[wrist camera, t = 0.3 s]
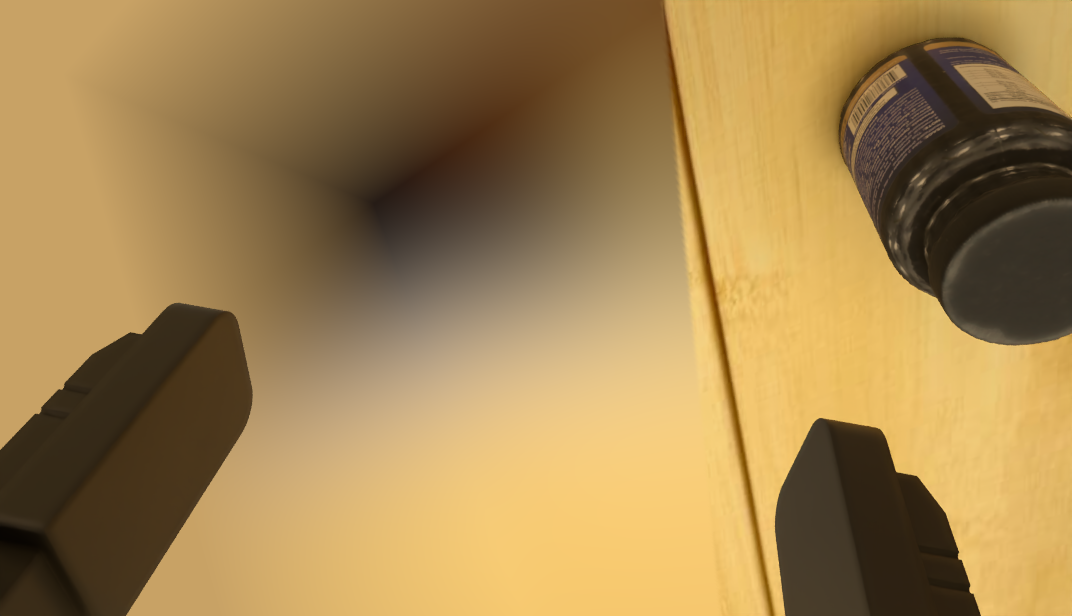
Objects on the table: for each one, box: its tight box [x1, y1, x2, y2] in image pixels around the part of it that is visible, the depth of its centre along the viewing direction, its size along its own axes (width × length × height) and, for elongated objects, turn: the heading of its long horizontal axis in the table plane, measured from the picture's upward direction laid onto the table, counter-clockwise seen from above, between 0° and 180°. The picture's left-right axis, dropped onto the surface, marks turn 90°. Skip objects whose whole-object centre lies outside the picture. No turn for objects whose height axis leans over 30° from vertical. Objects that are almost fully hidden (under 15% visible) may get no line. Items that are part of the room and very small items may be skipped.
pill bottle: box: [839, 38, 1072, 345], centre depth 23 cm, size 6×6×11 cm
